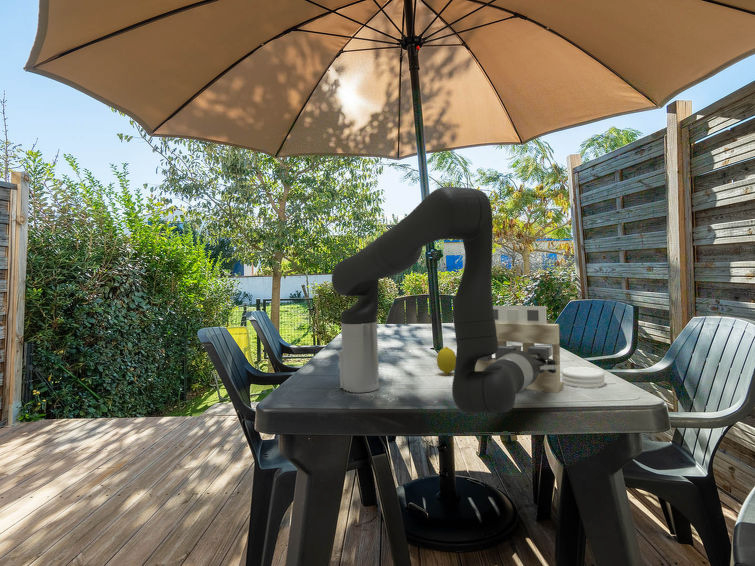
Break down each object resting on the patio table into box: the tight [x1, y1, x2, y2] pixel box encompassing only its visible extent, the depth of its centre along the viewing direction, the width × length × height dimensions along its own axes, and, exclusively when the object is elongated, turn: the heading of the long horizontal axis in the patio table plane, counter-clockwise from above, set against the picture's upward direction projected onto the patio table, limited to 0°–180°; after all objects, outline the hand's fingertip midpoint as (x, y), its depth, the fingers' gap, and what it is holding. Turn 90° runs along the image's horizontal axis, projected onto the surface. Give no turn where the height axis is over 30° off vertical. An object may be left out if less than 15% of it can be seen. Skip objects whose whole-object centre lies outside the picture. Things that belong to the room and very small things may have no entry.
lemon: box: [436, 346, 456, 375], centre depth 130 cm, size 6×6×8 cm
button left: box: [478, 355, 493, 361], centre depth 118 cm, size 4×10×4 cm, turn 146°
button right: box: [528, 345, 552, 358], centre depth 110 cm, size 4×10×4 cm, turn 146°
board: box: [475, 323, 564, 394], centre depth 116 cm, size 21×6×16 cm, turn 56°
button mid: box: [496, 344, 522, 360], centre depth 112 cm, size 4×10×4 cm, turn 146°
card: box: [493, 305, 548, 325], centre depth 114 cm, size 16×1×4 cm, turn 56°
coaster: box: [561, 366, 606, 389], centre depth 115 cm, size 10×10×4 cm
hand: (536, 357), depth 106 cm, fingers closed
